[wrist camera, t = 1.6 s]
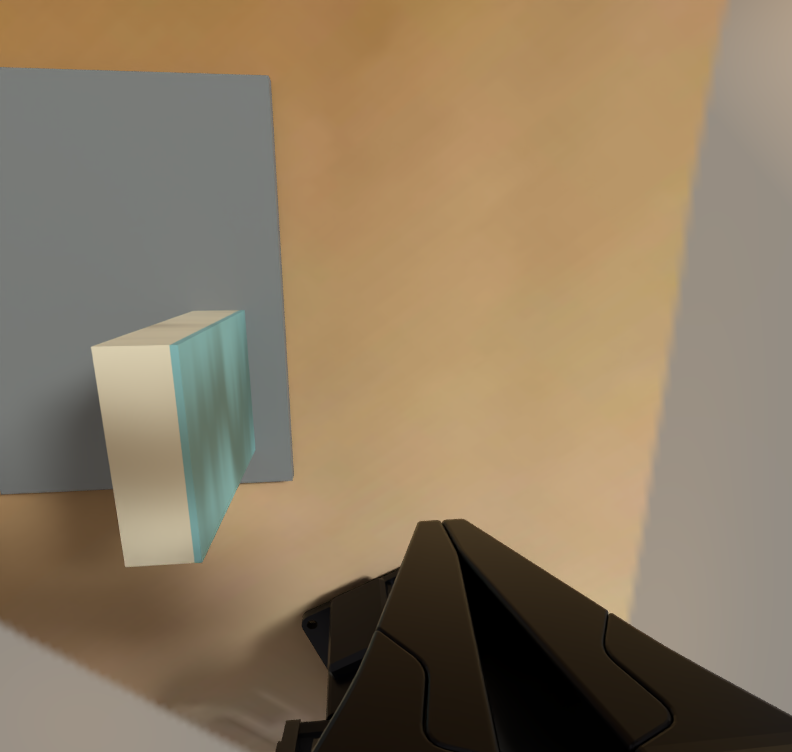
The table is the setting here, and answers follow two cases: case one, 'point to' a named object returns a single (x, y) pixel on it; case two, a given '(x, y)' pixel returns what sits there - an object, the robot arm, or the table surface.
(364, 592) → the robot arm
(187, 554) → the tile
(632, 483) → the table surface
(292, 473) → the mat
